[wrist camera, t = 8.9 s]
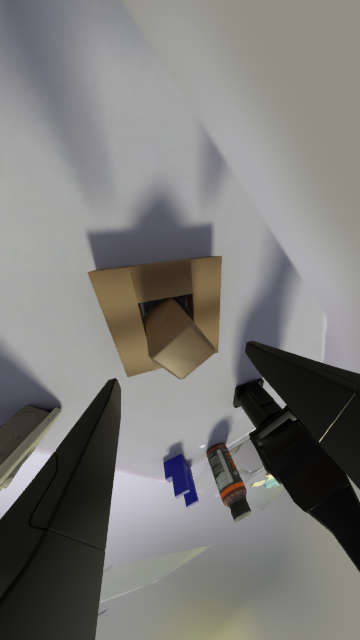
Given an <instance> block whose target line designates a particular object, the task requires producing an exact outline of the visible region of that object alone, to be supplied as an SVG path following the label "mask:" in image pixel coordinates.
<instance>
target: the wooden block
mask: <svg viewBox="0 0 360 640" xmlns="http://www.w3.org/2000/svg"><path fill="white" fill-rule="evenodd" d="M145 326H146V336H147V347H148V356H149V357H150V359H151V360H153V361H154V362H155V363H157V364H158V365H160V366H161V367H163V368H164V369H165V370H167V371H168V372H170V373H171V374H173V375H174V376H176V377H177V378H178V379H183V378H185V377H186V376H187V375H189V374H190V373H191V372H192V371H193V370H195V369H196V368H197V367H198V366H199V365H201V364H202V363H203V362H204V361H205V360H207V359H208V358H209V357H210V356H211V355H213V354H214V352H215V348H214V346H213V344H212V343H211V342H210V341H209V340H208V339H207V337H206V336H205V335H204V334H203V333H202V331H201V330H200V329H199V328H198V327H197V325H196V324H195V323H194V322H193V321H192V319H191V318H190V317H189V316H188V315H187V313H186V312H185V311H184V310H183V309H182V308H181V307H180V306H179V304H178V303H177V302H176V301H175V300H174V299H173V298H172V297H170V298H164V299H162V300H160V301H159V302H158V303H157V304H156V305H155V306H154V307H153V308H152V309H150V310H149V311H148V312H147V313H146V314H145Z"/></svg>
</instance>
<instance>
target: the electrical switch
mask: <svg viewBox="0 0 360 640" xmlns="http://www.w3.org/2000/svg"><path fill="white" fill-rule="evenodd" d="M61 411H62V410H60V409H59V408H57V407H56V408H55V409H54V410H53V411H52V412H51V413H49V412H46V411H44V410H42V409H37V408H35V407H33V406H30V405H26V406H25V407H24V408H23V409H22V410H20V411H19V412H18V413H17V414H15V415H14V416H13V417H12V418H11V419H9V420H8V421H7V422H6V423H5V424H3V425H2V426H1V427H0V491H1V490H2V488H7V486H8V485H9V484H10V483H11V481H12V479H13V478H14V476H15V475H16V473H17V472H18V470H19V468H20V467H21V466H22V464H23V463H24V462H25V461H26V460H27V458H28V457H29V456H30V455H31V454H32V452H33V451H34V450H35V448H36V447H37V445H38V444H39V443H40V441H41V440H42V438H43V437H44V435H45V434H46V433H47V431H48V430H49V428H50V427H51V426H52V424H53V423H54V421H55V420H56V418H57V417H58V416H59V414H60V413H61Z"/></svg>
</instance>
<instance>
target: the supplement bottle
mask: <svg viewBox="0 0 360 640" xmlns="http://www.w3.org/2000/svg"><path fill="white" fill-rule="evenodd" d="M207 457H208V461H209V463H210V466H211V469H212V472H213V475H214V478H215V481H216V484H217V487H218V490H219V493H220V496H221V498H222V501H223V503H224V505H225V506H227V507H229V508H230V509H231V514H232V516H233V519H234V521H235V522H237V521H240V520H242V519H243V518H245V517H246V516H248V515H249V514H250V513H251V510H250V507H249V505H248V503H247V501H246V488H245V486H244V484H243V481H242V479H241V477H240V475H239V473H238V470H237V468H236V466H235V464H234V462H233V459H232V457H231V455H230V453H229V451H228V449H227V447H226V445H225V444H217V445H215V446H213V447H212V448H210V449H209V450H208V453H207Z"/></svg>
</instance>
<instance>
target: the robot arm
mask: <svg viewBox="0 0 360 640" xmlns="http://www.w3.org/2000/svg"><path fill="white" fill-rule="evenodd" d="M245 352H246V355H247V356H248V357H249V359H250V360H251V362H252V363H253V364H254V366H255V367H256V369H257V370H258V371H259V373H260V374H261V375H262V376H263V377H264V379H265V380H266V381H267V382H268V383H269V384H270V386H271V387H272V388H273V389H274V390H275V391H276V393H277V394H278V395H279V396H280V397H281V398H282V400H283V401H284V402H285V403H286V404H287V405H286V406H285V408H283V409H282V408H281V407H280V406H279V405H278V404H277V403H276V402H275V401H274V399H273V398H272V397H271V396H270V395H269V394H268V392H267V391H266V390H265V389H264V388H263V383H264V380H263V379H259V380H257V381H254V382H251V383H248V384H245V385H242V386H239V387H237V388H236V391H235V399H234V407H235V408H238V407H240V406H241V407H242V408H243V410H244V411H245V413H246V414H247V416H248V417H249V419H250V420H251V422H252V423H253V425H254V426H255V427H256V430H254V431H253V432H250V433H249V435H250V440H251V441H252V443H253V445H254V446H255V448H256V450H257V452H258V454H259V456H260V459H261V461H262V463H263V466H264V468H265V470H266V471H267V473H269V474H271V475H272V476H273V477H274V478H275V480H276V481H277V482H278V483H279V484H280V485H282V484H283V486H284V487H285V489H286V490H287V491H288V493H289V495H290V496H291V498H292V499H293V501H294V502H295V503H296V504H297V505H298V506H299V507H300V508H301V509H302V510H303V511H305V512H306V513H309V514H310V515H311V516H312V517H314V518H315V519H316V520H317V521H318V522H320V523H321V524H322V525H323V526H324V527H326V528H327V529H328V530H329V531H330V532H331V533H332V534H333V535H334V536H335V538H336V539H337V540H338V542H339V543H340V545H341V546H342V547H343V549H344V550H345V552H346V553H347V555H348V556H349V557H350V559H351V560H352V562H353V563H354V564H355V566H356V567H357V569H358V570H359V572H360V502H359V500H358V498H357V496H356V494H355V492H354V489H353V487H352V485H351V483H350V481H349V479H348V477H349V478H350V479H351V480H352V481H353V482H354V484H355V485H356V486H357V487H358V488H359V489H360V374H358V373H354V372H351V371H347V370H344V369H340V368H337V367H334V366H330V365H327V364H324V363H321V362H318V361H314V360H311V359H308V358H305V357H302V356H299V355H296V354H292V353H289V352H286V351H283V350H280V349H277V348H274V347H271V346H267V345H264V344H261V343H258V342H255V341H249V342H247V343H246V349H245ZM293 418H295V419H296V420H295V421H293V420H292V419H293ZM120 420H121V387H120V385H119V383H118V380H117V379H116V378H114V379H110V380H108V381H107V383H106V384H105V385H104V387H103V388H102V389H101V391H100V392H99V393H98V395H97V396H96V397H95V399H94V400H93V401H92V403H91V404H90V405H89V407H88V408H87V409H86V411H85V412H84V413H83V415H82V416H81V417H80V419H79V420H78V421H77V422H76V424H75V425H74V426H73V428H72V429H71V430H70V432H69V433H68V434H67V436H66V437H65V438H64V440H63V441H62V442H61V444H60V445H59V446H58V448H57V449H56V452H54V453H53V454H52V456H51V457H50V458H49V460H48V461H47V462H46V463H45V465H44V466H43V467H42V469H41V470H40V471H39V472H38V474H37V475H36V476H35V478H34V479H33V480H32V482H31V483H30V484H29V485H28V486H27V488H26V489H25V490H24V491H23V493H22V494H21V495H20V496H19V498H18V499H17V500H16V501H15V502H14V504H13V505H12V506H11V507H10V508H9V510H8V511H7V512H6V513H5V515H4V516H3V517H2V518H1V519H0V640H95V635H96V627H97V618H98V609H99V601H100V592H101V584H102V575H103V566H104V558H105V548H106V540H107V531H108V523H109V515H110V506H111V497H112V489H113V480H114V472H115V463H116V455H117V446H118V438H119V429H120ZM346 474H347V475H348V477H347V475H346Z"/></svg>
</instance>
